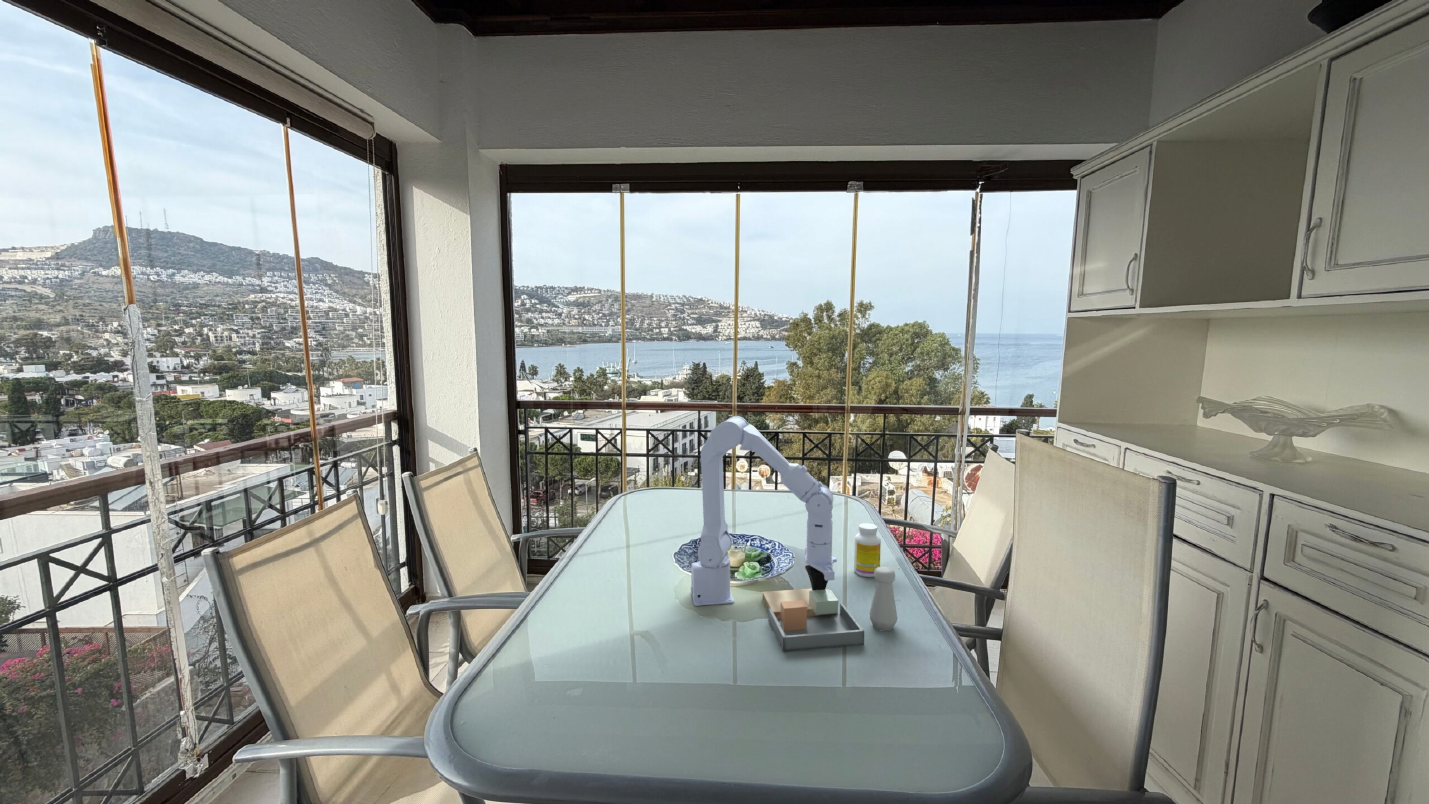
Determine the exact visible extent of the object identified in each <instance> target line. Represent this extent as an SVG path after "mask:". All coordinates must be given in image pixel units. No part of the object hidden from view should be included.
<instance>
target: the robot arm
mask: <svg viewBox="0 0 1429 804" xmlns="http://www.w3.org/2000/svg"><path fill="white" fill-rule="evenodd" d="M739 445H740V447H739V450H740V451H748V452H754V453H756V455H757V456H759V457H760V458H761V459H762V460H763V461H765V462H766V463H767V464H768V465H769V466H771V468H772V469H774V470H775V471H776V472H777V473H779V474H780V475H779V476H780V483H781V484H783V485H784V486H785V487H786V488H787V489H788V490H789V491H790V492H791V493H792V494H793V495H795V497H796V498H797V499H798V500H800V501H801V502H803V503H805V504H804V506H805V510H806V511H807V520H806V546H805V547H804V555H805V558H804V559H805V563H806V565H805V566H804V569H805V570H806V572H807V574H808V579H809V580H810V581H809V582H810V586H811V587H810V588H812V590H826V588H827V585H828V582H829V581H834V580H835V574H836V573H835V570H834V568H833V566H834V563H837V561H838V559H837V557H836V556H834V555H833V520H832V519H833V513H832V511H833V508H834V495H833V492H832V490H831V489H830V487H828V486H827V485H825V484H823V482H822V481H818V480H817V479H815V477H813V476H812V475H811V474H810V473H809V472H808V467H806V465H804V464H803V465H800V464H799V463H791V462H789V461H788V460H787V459H786V458H785V457H784V455H782V454H781V452H779V451H778V450H777V449H776V448H775V446H774V445H773V444H771V442H770V441H769V440H768V439H766V437H764V436H763V434H762V433H761V432H760V431H759V430H758V429H757V428H756V427H755V426H754V425H752V424H751V423H749V422H748V421H747V420H746V419H745V418H744V417H742V416H738V415H734V416H730V417H729V418H728V419H726V420H725V421H722V422H720V423H719V424H718V425H716V426H715V427H714V428H712V429H711V430H710V434H709V436H708V438H706V441H705V442H704V444H703V446H702V447H701V450H700V464H701V465H700V466H701V488H702V490H701V492H702V494H701V495H702V511H703V512H702V513H703V515H702V516H703V526H702V530H701V532H700V544H699V546H698V548H697V557H698V561H696V562H692V563H691V568H690V570H691V571H690V574H691V575H690V577H691V578H690V579H691V581H690V582H691V584H690V585H691V586H690V593H691V596H692V600H693V605H694V606H696V607H697V606H711V605H722V604H723V605H725V604H733V603H735V599H734V597H733V594H732V591H731V558H730V555H729V553H728V552H729V551H730V549H731V548H732V546H733V539H732V537H731V535H730V533H729V528H728V527H729V526H728V524H727V522H726V516H725V515H726V514H725V513H726V512H725V509H726V508H725V492H724V491H725V489H724V487H725V486H724V484H725V483H724V464H723V461H724V459H723V458H724V456H725V455H726V454H727V453H728V452H729V451H731V450H733V449H735V448H737V447H738V446H739Z"/></svg>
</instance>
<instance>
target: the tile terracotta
mask: <svg viewBox="0 0 1429 804" xmlns="http://www.w3.org/2000/svg"><path fill="white" fill-rule="evenodd" d="M780 624H781V626H782V628H783V630H784V631H789V630H801V629H807V606H806V604H805V603H804V601H803V600H799V601H786V602H781V603H780Z"/></svg>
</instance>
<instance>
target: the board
mask: <svg viewBox="0 0 1429 804" xmlns="http://www.w3.org/2000/svg"><path fill="white" fill-rule="evenodd" d="M809 591H812V587H810V588H800V589H799V588H798V589H786V590H785V589H784V590H773V591H771V590H770V591H769V590H768V591H762V602H763V604H764V606H765V608H766V609H767V612H768V613H769V609H772V611H773V613H774V614H775V616H776V618H777V619H780V603H781V602H786V601H799V600H803V601H804V603H805V604H806V606H807V617H808V616H821V615H834V614H839V612H838V613H831V614H819V615H816V614H815V612H814V611H813V609H812V607H811V606H810V604H809Z"/></svg>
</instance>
